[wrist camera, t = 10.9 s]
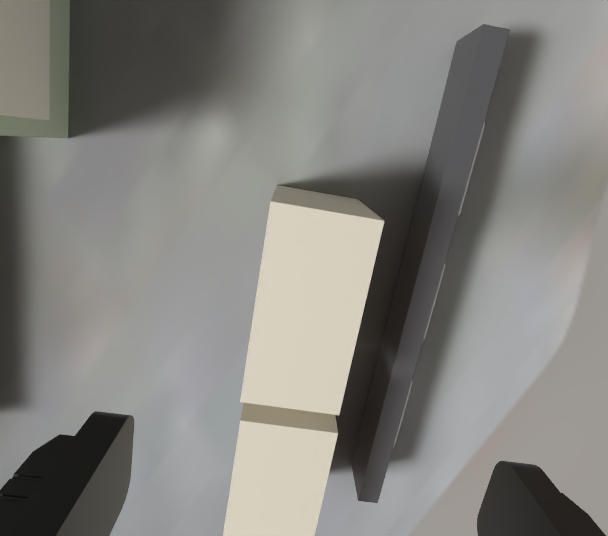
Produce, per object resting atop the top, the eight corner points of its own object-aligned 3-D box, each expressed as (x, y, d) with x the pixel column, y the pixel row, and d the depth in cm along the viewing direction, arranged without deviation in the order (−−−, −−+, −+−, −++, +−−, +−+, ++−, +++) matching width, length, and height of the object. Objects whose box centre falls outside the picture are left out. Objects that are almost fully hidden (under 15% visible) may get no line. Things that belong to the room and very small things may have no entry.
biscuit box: (359, 199, 23) (388, 221, 16) (329, 344, 25) (342, 415, 18) (277, 184, 22) (270, 201, 16) (254, 333, 25) (240, 402, 18)
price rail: (373, 466, 28) (382, 503, 25) (351, 463, 28) (358, 500, 25) (485, 47, 21) (516, 30, 18) (456, 41, 21) (483, 24, 18)
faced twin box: (328, 358, 25) (341, 433, 19) (303, 474, 28) (307, 578, 21) (254, 347, 25) (240, 420, 18) (236, 466, 28) (217, 569, 21)
